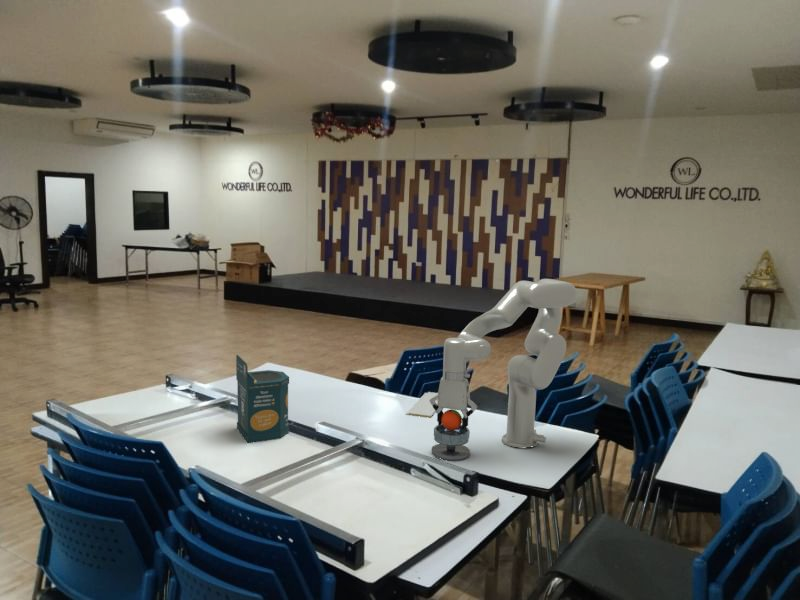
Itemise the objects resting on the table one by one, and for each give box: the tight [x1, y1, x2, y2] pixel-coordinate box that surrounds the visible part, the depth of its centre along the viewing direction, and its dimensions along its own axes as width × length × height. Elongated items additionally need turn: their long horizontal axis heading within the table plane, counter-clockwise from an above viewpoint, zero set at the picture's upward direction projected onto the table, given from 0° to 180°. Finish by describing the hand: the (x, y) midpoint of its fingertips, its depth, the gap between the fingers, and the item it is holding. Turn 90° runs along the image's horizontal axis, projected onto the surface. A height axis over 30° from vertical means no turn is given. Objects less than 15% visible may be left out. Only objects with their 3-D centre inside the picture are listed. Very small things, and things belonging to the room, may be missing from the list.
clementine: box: [441, 409, 463, 430], centre depth 206 cm, size 8×7×7 cm
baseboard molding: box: [405, 389, 439, 419], centre depth 259 cm, size 31×3×12 cm
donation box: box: [235, 354, 290, 444], centre depth 220 cm, size 16×16×28 cm
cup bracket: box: [431, 424, 471, 462], centre depth 207 cm, size 13×13×8 cm
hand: (452, 425), depth 206 cm, fingers closed on clementine, 7 cm apart
